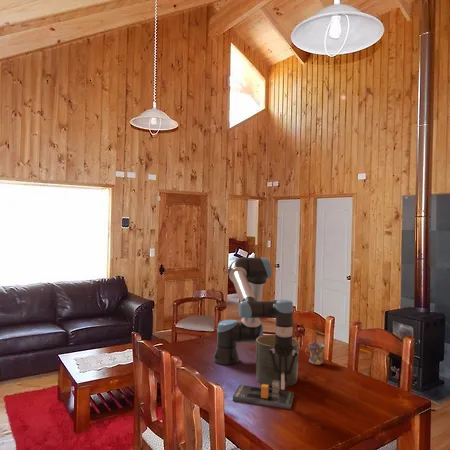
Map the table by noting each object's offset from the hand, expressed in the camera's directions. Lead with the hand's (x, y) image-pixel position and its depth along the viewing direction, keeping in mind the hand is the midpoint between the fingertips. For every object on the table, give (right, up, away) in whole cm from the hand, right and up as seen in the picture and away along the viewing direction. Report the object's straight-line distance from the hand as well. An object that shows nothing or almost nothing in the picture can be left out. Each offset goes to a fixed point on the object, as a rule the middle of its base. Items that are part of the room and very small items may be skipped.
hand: (282, 388), depth 176 cm
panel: (-8, -7, +6) cm, 12 cm away
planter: (+1, -8, +30) cm, 31 cm away
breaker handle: (-8, -5, +2) cm, 10 cm away
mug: (+27, -9, +56) cm, 63 cm away
